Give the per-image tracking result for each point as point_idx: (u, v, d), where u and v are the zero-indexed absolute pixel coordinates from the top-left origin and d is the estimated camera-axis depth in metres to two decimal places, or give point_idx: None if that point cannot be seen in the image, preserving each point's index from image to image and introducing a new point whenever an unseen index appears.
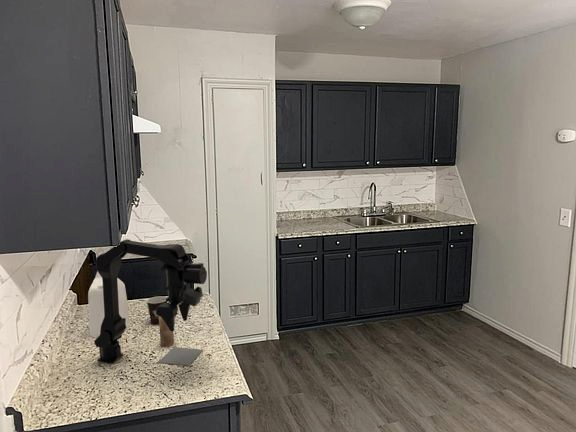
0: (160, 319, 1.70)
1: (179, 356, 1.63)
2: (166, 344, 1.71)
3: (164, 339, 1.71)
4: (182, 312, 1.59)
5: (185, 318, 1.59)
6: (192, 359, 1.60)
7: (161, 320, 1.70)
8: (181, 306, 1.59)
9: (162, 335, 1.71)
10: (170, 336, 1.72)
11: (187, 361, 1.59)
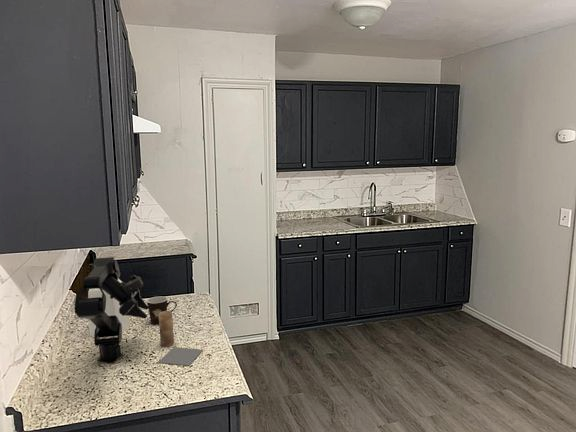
0: (160, 319, 1.70)
1: (179, 356, 1.63)
2: (166, 344, 1.71)
3: (164, 339, 1.71)
4: (140, 305, 1.74)
5: (146, 306, 1.74)
6: (192, 359, 1.60)
7: (161, 320, 1.70)
8: None
9: (162, 335, 1.71)
10: (170, 336, 1.72)
11: (187, 361, 1.59)
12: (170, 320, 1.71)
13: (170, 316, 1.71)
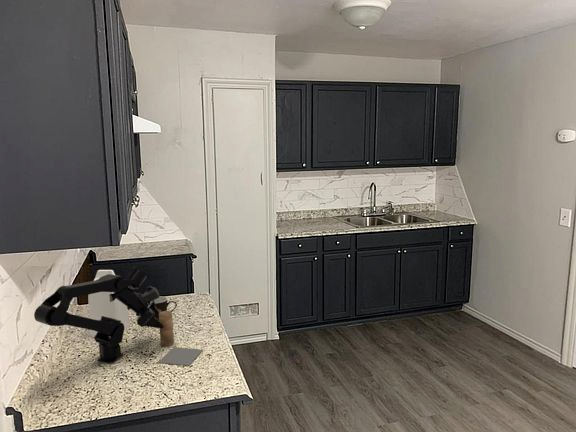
0: (160, 319, 1.70)
1: (179, 356, 1.63)
2: (166, 344, 1.71)
3: (164, 339, 1.71)
4: (155, 315, 1.76)
5: None
6: (192, 359, 1.60)
7: (161, 320, 1.70)
8: None
9: (162, 335, 1.71)
10: (170, 336, 1.72)
11: (187, 361, 1.59)
12: (170, 320, 1.71)
13: (170, 316, 1.71)
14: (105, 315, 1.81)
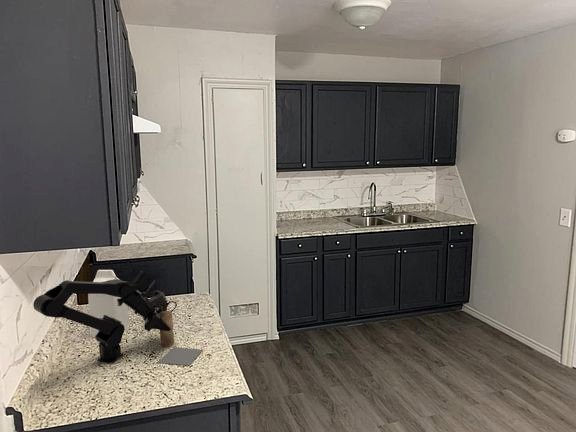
0: None
1: (179, 356, 1.63)
2: (166, 344, 1.71)
3: (164, 339, 1.71)
4: None
5: None
6: (192, 359, 1.60)
7: None
8: None
9: (162, 335, 1.71)
10: (170, 336, 1.72)
11: (187, 361, 1.59)
12: (170, 320, 1.71)
13: (170, 316, 1.71)
14: None
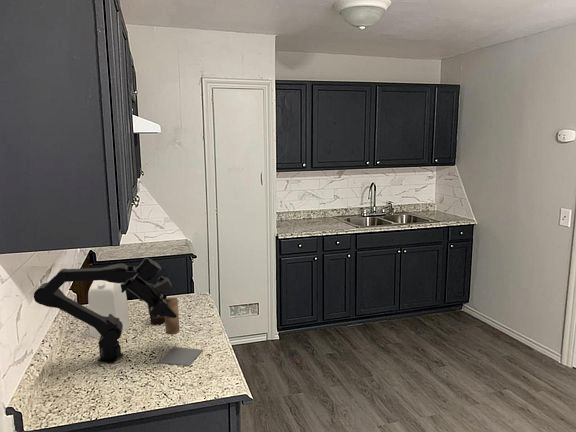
0: None
1: (179, 356, 1.63)
2: (172, 331, 1.66)
3: (169, 326, 1.66)
4: None
5: None
6: (192, 359, 1.60)
7: None
8: None
9: (168, 322, 1.66)
10: (176, 323, 1.66)
11: (187, 361, 1.59)
12: (176, 306, 1.66)
13: (176, 302, 1.66)
14: (105, 315, 1.81)
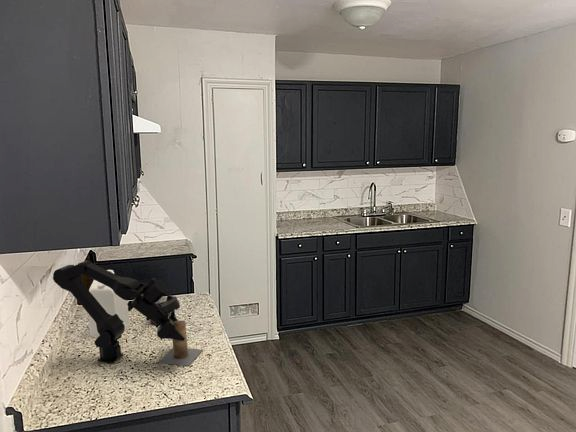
0: None
1: None
2: (180, 356, 1.61)
3: (177, 351, 1.61)
4: None
5: None
6: (192, 359, 1.60)
7: None
8: None
9: (175, 346, 1.60)
10: (184, 347, 1.61)
11: (187, 361, 1.59)
12: (184, 330, 1.60)
13: (184, 326, 1.60)
14: None
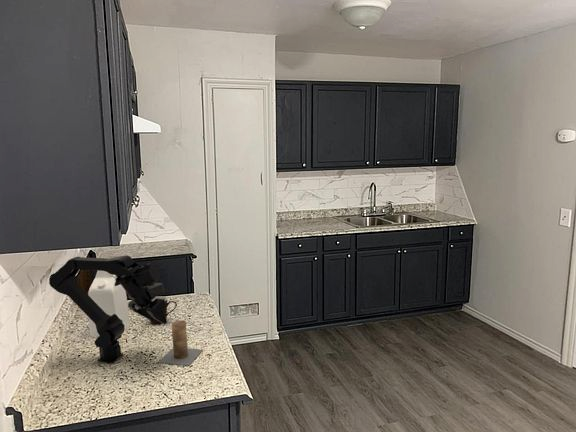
0: (173, 329, 1.60)
1: None
2: (180, 356, 1.61)
3: (177, 350, 1.61)
4: (147, 315, 1.65)
5: (153, 317, 1.67)
6: (192, 359, 1.60)
7: (174, 330, 1.60)
8: (143, 312, 1.64)
9: (175, 346, 1.61)
10: (184, 347, 1.61)
11: (187, 361, 1.59)
12: (184, 330, 1.61)
13: (184, 326, 1.61)
14: None
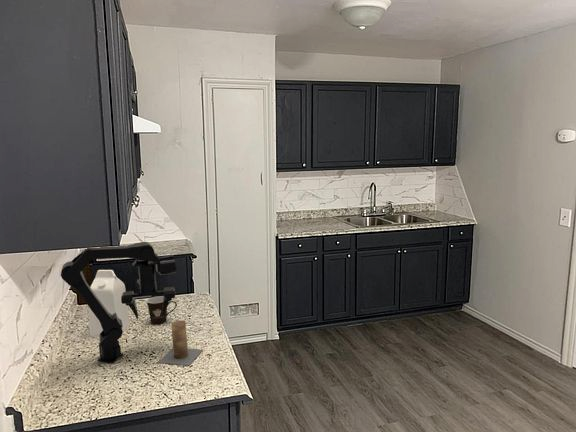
0: (173, 329, 1.60)
1: None
2: (180, 356, 1.61)
3: (177, 351, 1.61)
4: (136, 311, 1.65)
5: (137, 315, 1.66)
6: (192, 359, 1.60)
7: (174, 331, 1.59)
8: (135, 307, 1.64)
9: (175, 346, 1.60)
10: (184, 347, 1.61)
11: (187, 361, 1.59)
12: (184, 330, 1.61)
13: (184, 326, 1.60)
14: None
